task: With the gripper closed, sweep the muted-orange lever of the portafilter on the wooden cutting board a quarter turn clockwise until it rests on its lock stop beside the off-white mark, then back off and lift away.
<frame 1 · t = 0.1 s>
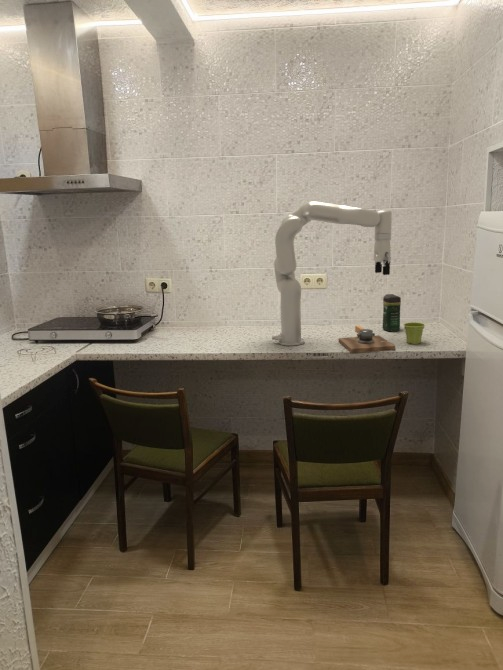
hand: (382, 273, 230), 31 cm above the worktop, tool pointing down, fingers open, 9 cm apart
plant pot: (413, 343, 224), on the worktop
wooden cutting board: (365, 345, 222), on the worktop
portafilter: (362, 332, 225), point 5 cm above the worktop, hinge at 0.0°
coffee jar: (391, 330, 250), on the worktop
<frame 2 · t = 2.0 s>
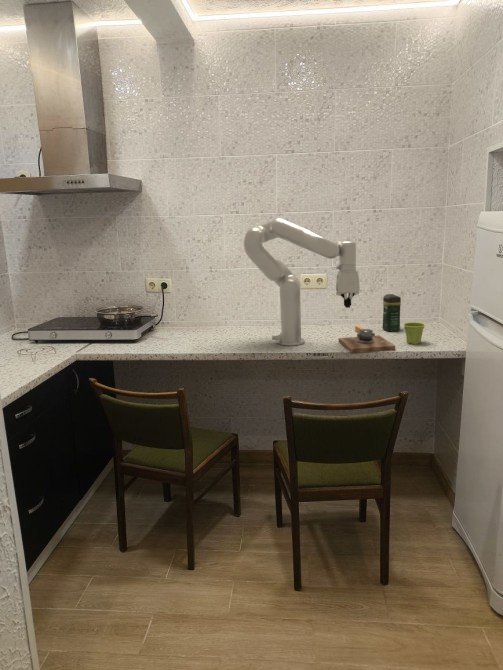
hand: (347, 307, 226), 17 cm above the worktop, tool pointing down, fingers closed
nothing on the worktop moved.
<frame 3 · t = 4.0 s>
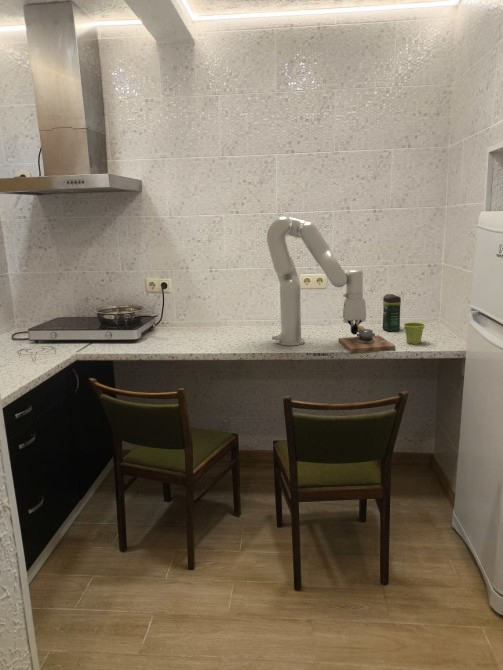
hand: (354, 333, 229), 4 cm above the worktop, tool pointing down, fingers closed
portafilter: (363, 332, 225), point 5 cm above the worktop, hinge at 4.6°, touching gripper
everything else where it was.
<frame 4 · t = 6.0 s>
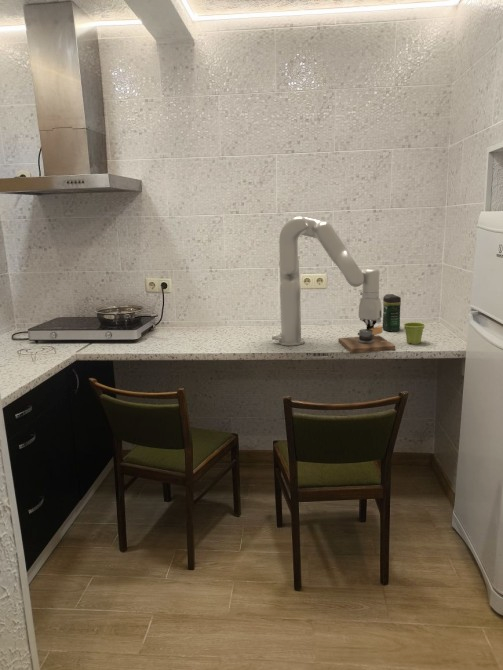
hand: (370, 333, 229), 4 cm above the worktop, tool pointing down, fingers closed
portafilter: (371, 332, 224), point 5 cm above the worktop, hinge at 51.8°, touching gripper
everything else where it was.
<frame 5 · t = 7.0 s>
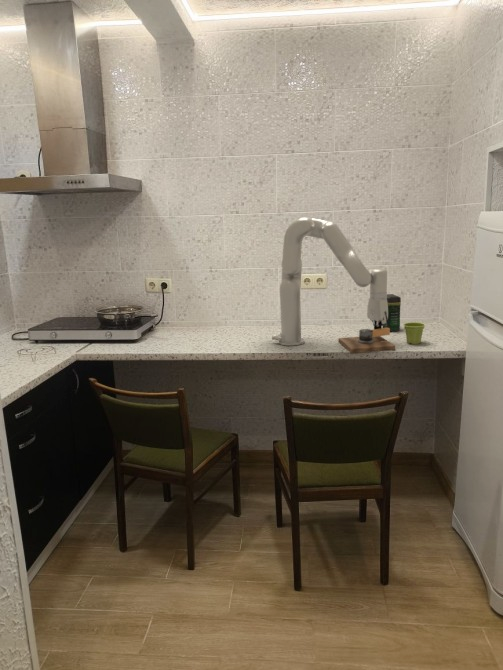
hand: (377, 334, 227), 4 cm above the worktop, tool pointing down, fingers closed
portafilter: (374, 333, 222), point 5 cm above the worktop, hinge at 74.6°, touching gripper
everything else where it was.
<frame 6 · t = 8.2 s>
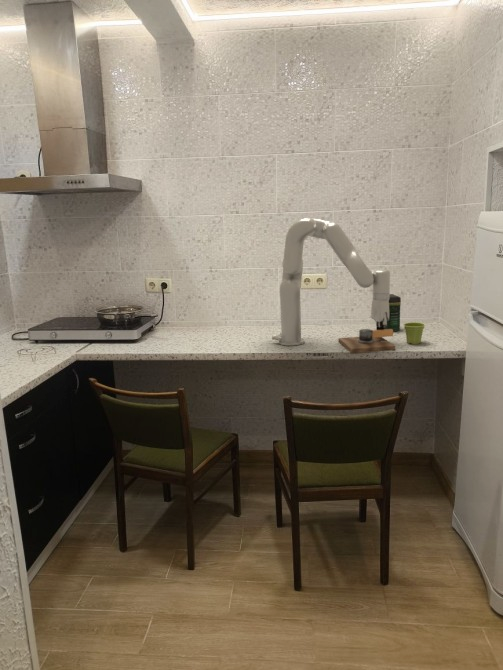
hand: (380, 334, 226), 4 cm above the worktop, tool pointing down, fingers closed
portafilter: (375, 334, 221), point 5 cm above the worktop, hinge at 89.7°
everything else where it was.
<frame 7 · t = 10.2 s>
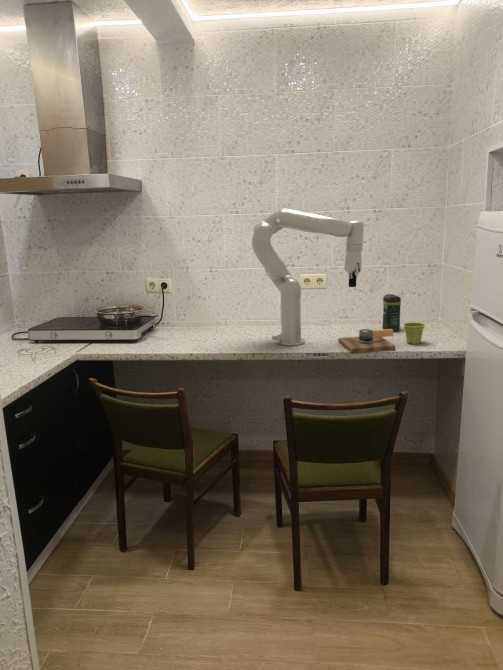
hand: (352, 286, 229), 26 cm above the worktop, tool pointing down, fingers closed
nothing on the worktop moved.
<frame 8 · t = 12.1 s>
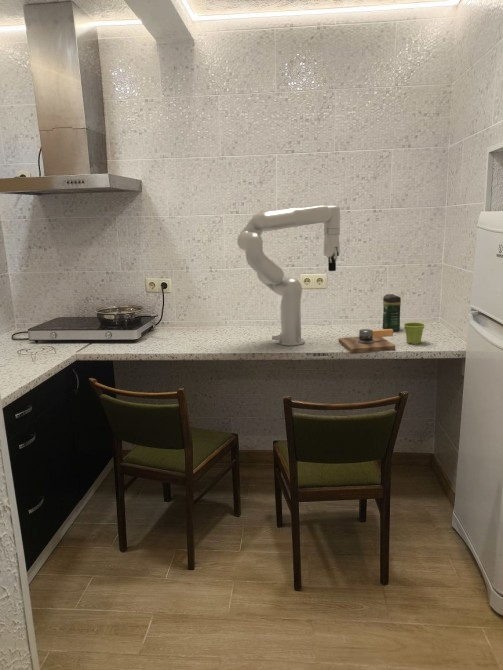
hand: (332, 270, 233), 33 cm above the worktop, tool pointing down, fingers closed
nothing on the worktop moved.
at the end: portafilter at +90° (first picture: +0°); the gripper is holding nothing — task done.
